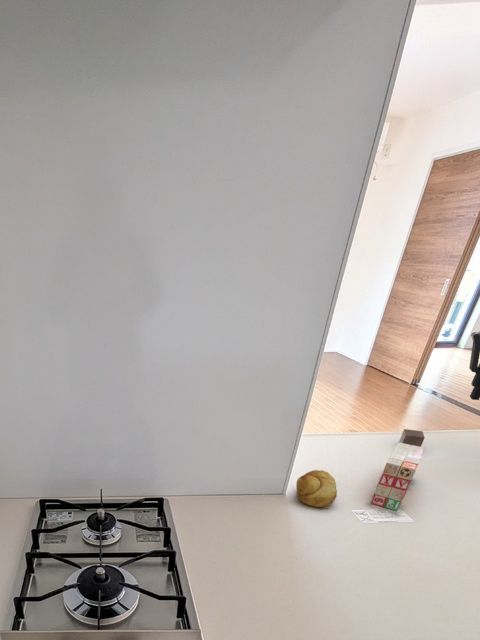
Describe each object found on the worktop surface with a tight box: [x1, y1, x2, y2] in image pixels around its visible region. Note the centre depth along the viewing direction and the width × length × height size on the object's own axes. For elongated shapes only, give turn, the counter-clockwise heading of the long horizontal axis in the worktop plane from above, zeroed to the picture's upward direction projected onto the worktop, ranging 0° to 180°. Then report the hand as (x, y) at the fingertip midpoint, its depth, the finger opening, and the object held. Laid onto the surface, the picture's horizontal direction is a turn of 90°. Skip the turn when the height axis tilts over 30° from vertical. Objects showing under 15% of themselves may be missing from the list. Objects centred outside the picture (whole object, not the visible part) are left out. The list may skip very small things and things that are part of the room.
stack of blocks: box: [370, 442, 425, 512], centre depth 114 cm, size 21×6×12 cm, turn 141°
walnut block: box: [398, 428, 426, 447], centre depth 136 cm, size 5×5×5 cm
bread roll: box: [295, 469, 338, 508], centre depth 114 cm, size 13×10×8 cm
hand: (474, 398), depth 120 cm, fingers closed
